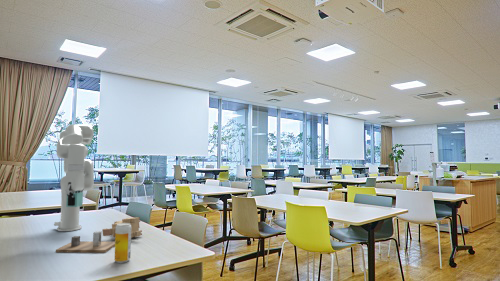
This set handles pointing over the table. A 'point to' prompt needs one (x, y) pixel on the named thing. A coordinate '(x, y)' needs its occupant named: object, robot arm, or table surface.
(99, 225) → the table surface
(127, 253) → the beer can
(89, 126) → the robot arm
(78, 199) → the teal block
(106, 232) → the toy
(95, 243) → the tall post
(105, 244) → the stand
